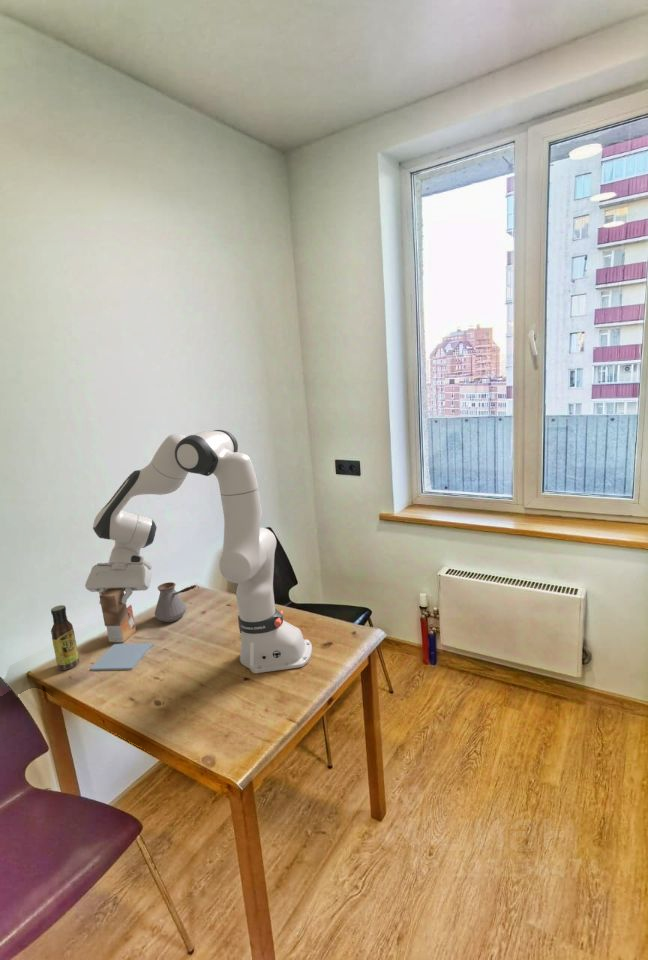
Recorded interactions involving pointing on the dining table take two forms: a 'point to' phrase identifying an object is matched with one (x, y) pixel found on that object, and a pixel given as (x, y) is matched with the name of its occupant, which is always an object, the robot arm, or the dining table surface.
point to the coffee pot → (170, 603)
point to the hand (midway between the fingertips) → (112, 604)
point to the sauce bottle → (63, 639)
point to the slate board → (122, 657)
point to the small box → (122, 628)
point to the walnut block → (113, 607)
